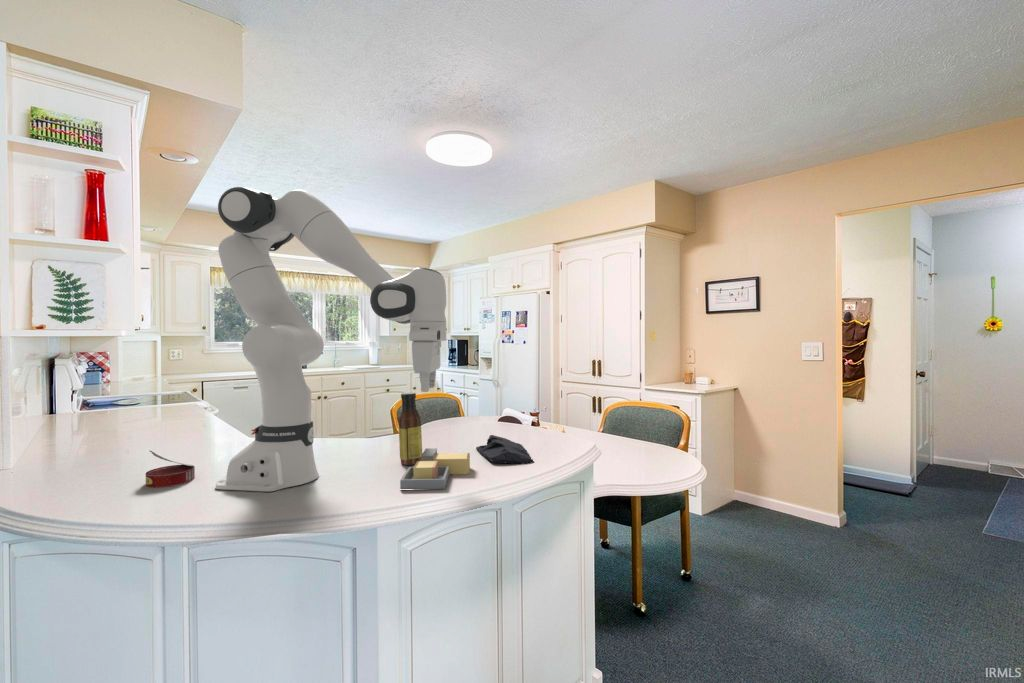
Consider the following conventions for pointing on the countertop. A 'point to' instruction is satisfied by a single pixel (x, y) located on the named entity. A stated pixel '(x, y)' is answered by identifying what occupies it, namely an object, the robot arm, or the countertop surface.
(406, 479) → the tray
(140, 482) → the countertop surface
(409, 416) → the sauce bottle
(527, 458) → the crumpled black cloth
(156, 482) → the canned food
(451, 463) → the beige boxy piece
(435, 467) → the stub
